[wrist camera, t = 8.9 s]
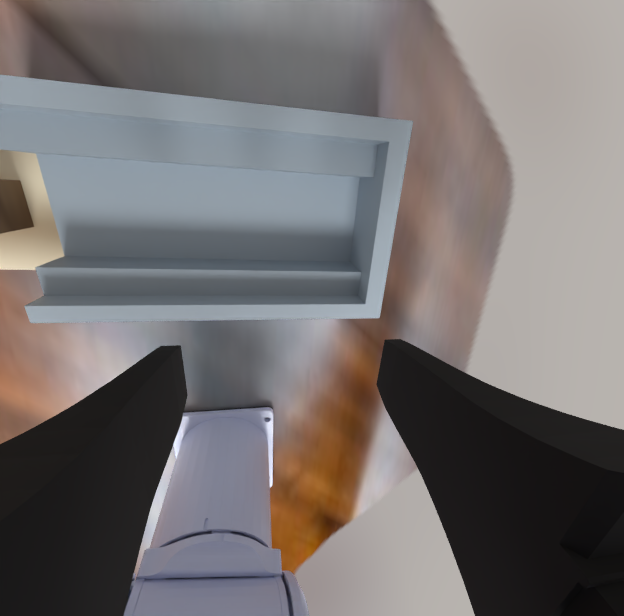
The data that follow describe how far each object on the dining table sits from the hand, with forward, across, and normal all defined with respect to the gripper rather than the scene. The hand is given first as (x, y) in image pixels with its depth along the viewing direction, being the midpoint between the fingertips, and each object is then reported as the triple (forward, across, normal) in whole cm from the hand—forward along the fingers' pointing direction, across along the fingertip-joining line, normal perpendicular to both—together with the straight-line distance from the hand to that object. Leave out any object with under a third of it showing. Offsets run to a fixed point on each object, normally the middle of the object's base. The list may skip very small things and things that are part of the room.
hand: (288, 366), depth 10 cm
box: (+10, +3, -4) cm, 12 cm away
